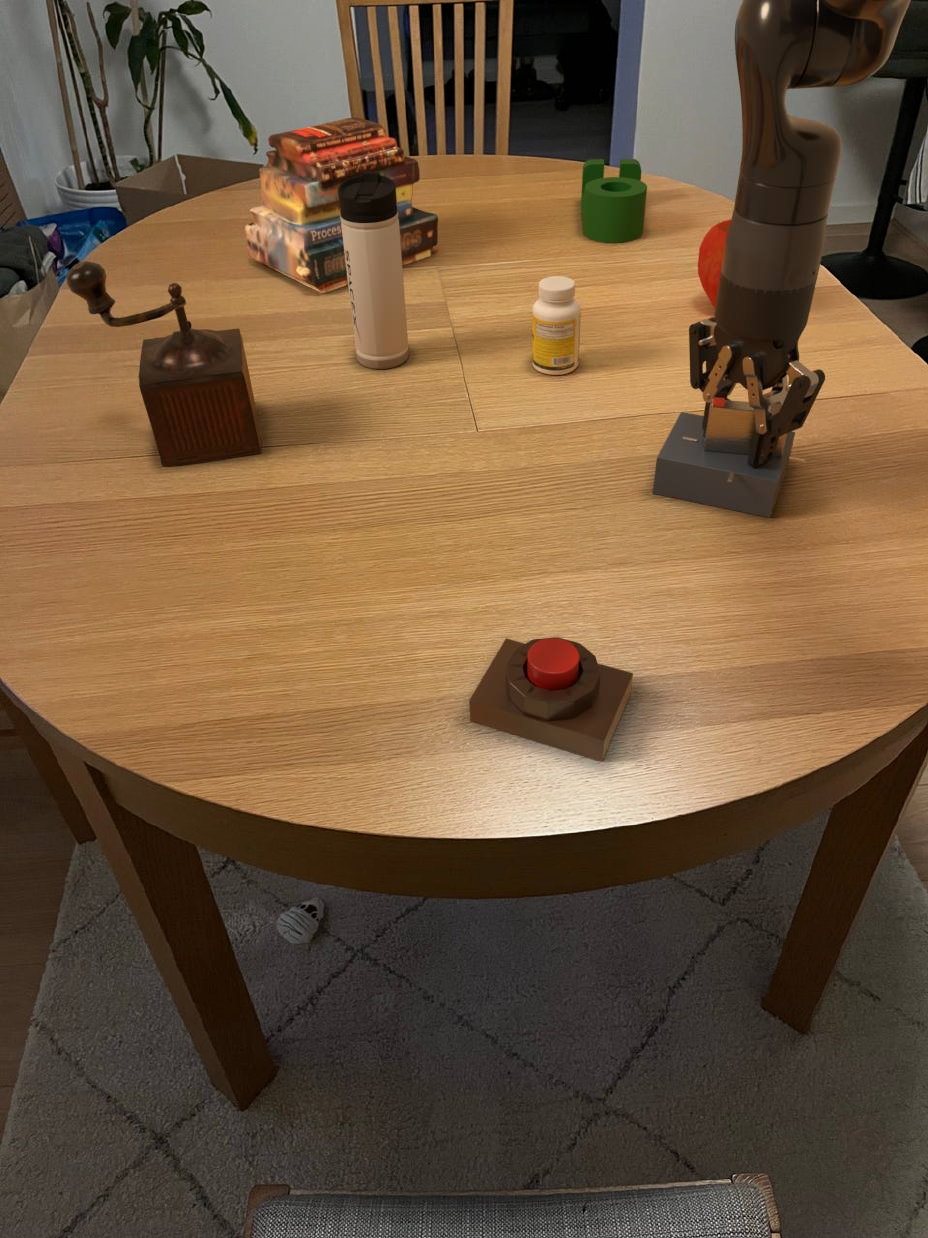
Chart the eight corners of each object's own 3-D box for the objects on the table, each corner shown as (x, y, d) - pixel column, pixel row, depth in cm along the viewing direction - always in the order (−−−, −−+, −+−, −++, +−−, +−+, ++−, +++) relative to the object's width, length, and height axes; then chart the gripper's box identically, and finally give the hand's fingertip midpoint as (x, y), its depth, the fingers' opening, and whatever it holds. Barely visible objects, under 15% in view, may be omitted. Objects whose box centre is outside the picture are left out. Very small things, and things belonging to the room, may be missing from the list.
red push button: (585, 663, 66) (586, 645, 65) (568, 696, 64) (569, 679, 63) (537, 650, 68) (538, 632, 66) (519, 682, 65) (519, 665, 64)
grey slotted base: (805, 467, 91) (814, 430, 88) (785, 531, 83) (794, 492, 80) (677, 443, 95) (682, 407, 92) (647, 502, 87) (652, 464, 84)
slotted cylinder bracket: (644, 242, 136) (649, 196, 132) (583, 242, 137) (585, 196, 133) (637, 201, 150) (641, 158, 145) (581, 201, 150) (583, 159, 146)
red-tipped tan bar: (781, 448, 86) (791, 402, 83) (781, 457, 85) (792, 411, 82) (704, 441, 87) (711, 395, 84) (703, 450, 86) (710, 404, 83)
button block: (630, 693, 69) (635, 655, 66) (602, 762, 64) (606, 723, 62) (505, 658, 72) (505, 620, 70) (469, 721, 68) (468, 682, 65)
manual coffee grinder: (258, 403, 104) (225, 239, 92) (263, 454, 96) (228, 282, 84) (115, 422, 102) (62, 257, 90) (108, 476, 94) (50, 302, 82)
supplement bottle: (546, 350, 111) (548, 269, 105) (586, 361, 109) (591, 278, 102) (522, 369, 108) (523, 286, 101) (563, 380, 106) (567, 296, 99)
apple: (773, 314, 117) (791, 225, 109) (718, 328, 114) (732, 239, 107) (730, 290, 123) (744, 204, 115) (677, 303, 120) (688, 217, 113)
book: (311, 300, 125) (290, 163, 113) (242, 264, 135) (217, 136, 124) (441, 253, 136) (434, 124, 124) (368, 224, 146) (356, 102, 134)
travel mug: (413, 345, 114) (400, 170, 100) (404, 370, 109) (390, 190, 95) (362, 344, 114) (343, 170, 101) (352, 369, 109) (330, 190, 96)
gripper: (874, 285, 71) (824, 472, 83) (739, 231, 81) (711, 406, 92) (804, 310, 69) (762, 500, 80) (673, 251, 78) (652, 429, 89)
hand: (735, 449), depth 86 cm, fingers closed on grey slotted base, 5 cm apart
